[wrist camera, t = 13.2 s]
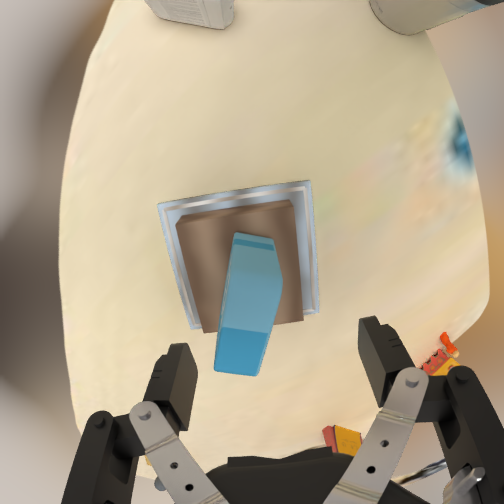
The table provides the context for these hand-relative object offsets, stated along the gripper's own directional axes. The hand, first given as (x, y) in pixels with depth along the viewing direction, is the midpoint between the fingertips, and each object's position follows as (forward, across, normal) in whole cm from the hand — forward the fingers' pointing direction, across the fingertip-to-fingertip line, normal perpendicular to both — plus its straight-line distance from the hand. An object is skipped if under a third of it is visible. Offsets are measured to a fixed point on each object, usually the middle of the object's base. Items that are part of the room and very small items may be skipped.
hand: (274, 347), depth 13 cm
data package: (+23, +4, +8) cm, 25 cm away
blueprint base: (+28, +4, +8) cm, 29 cm away
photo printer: (+28, +4, -26) cm, 39 cm away
